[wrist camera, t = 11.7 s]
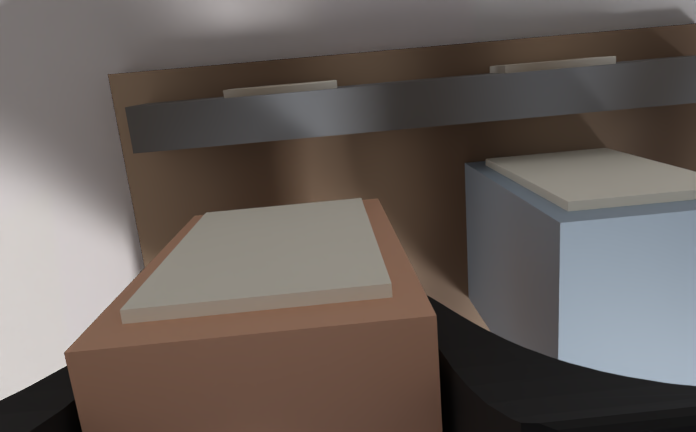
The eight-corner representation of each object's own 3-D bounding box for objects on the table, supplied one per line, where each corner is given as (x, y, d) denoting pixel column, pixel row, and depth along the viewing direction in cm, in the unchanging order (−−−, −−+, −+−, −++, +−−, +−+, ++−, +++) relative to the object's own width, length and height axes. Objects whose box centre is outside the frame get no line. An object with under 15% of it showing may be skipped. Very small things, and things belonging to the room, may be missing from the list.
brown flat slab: (697, 24, 17) (773, 14, 14) (654, 599, 23) (702, 675, 20) (120, 74, 17) (78, 74, 14) (226, 648, 23) (212, 732, 20)
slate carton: (603, 284, 18) (769, 409, 11) (468, 297, 18) (557, 432, 11) (608, 143, 17) (798, 190, 10) (464, 156, 17) (560, 212, 10)
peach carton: (390, 363, 15) (451, 609, 8) (220, 381, 14) (131, 646, 8) (377, 190, 13) (435, 300, 7) (193, 207, 13) (60, 337, 7)
